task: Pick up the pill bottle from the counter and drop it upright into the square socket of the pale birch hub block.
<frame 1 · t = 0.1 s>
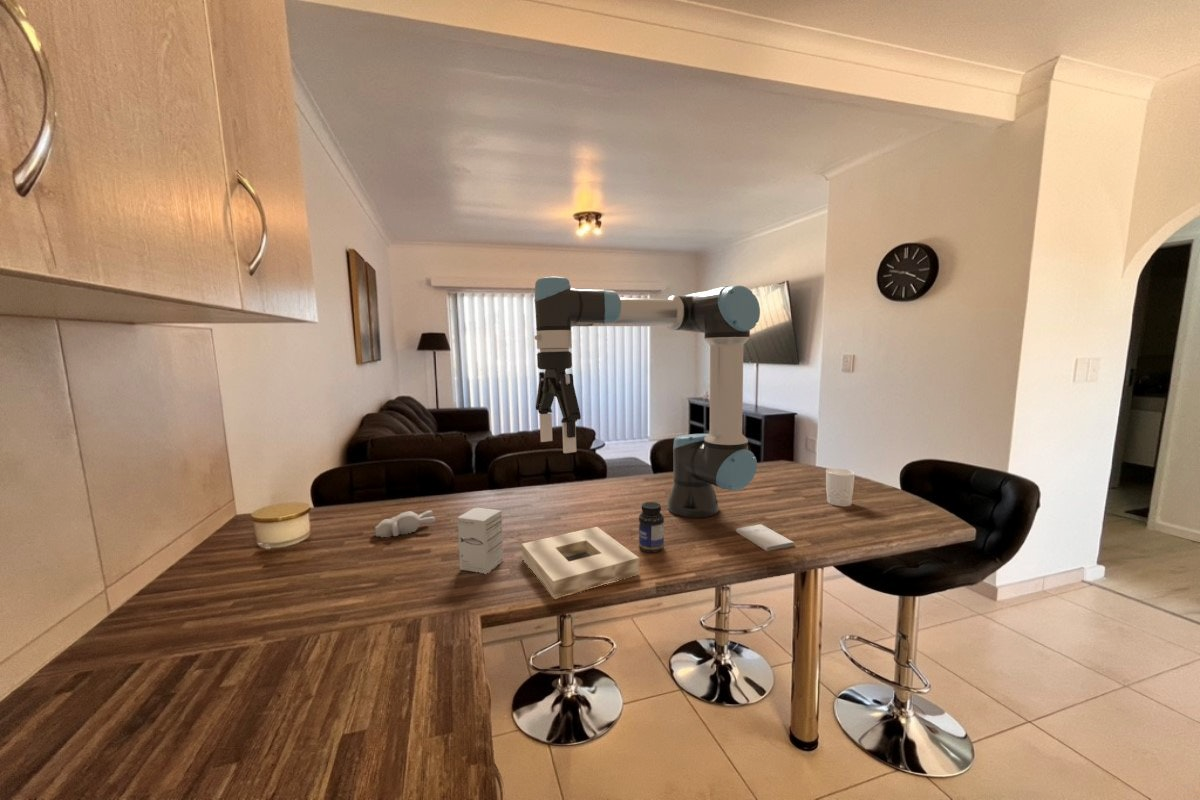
hand: (557, 446, 101), 28 cm above the breakfast bar, tool pointing down, fingers open, 13 cm apart
supplement box: (482, 566, 105), on the breakfast bar
white cup: (838, 503, 141), on the breakfast bar
external hard drive: (764, 541, 116), on the breakfast bar
pill bottle: (651, 548, 112), on the breakfast bar
bunny figurine: (406, 532, 126), on the breakfast bar
socket block: (578, 567, 103), on the breakfast bar
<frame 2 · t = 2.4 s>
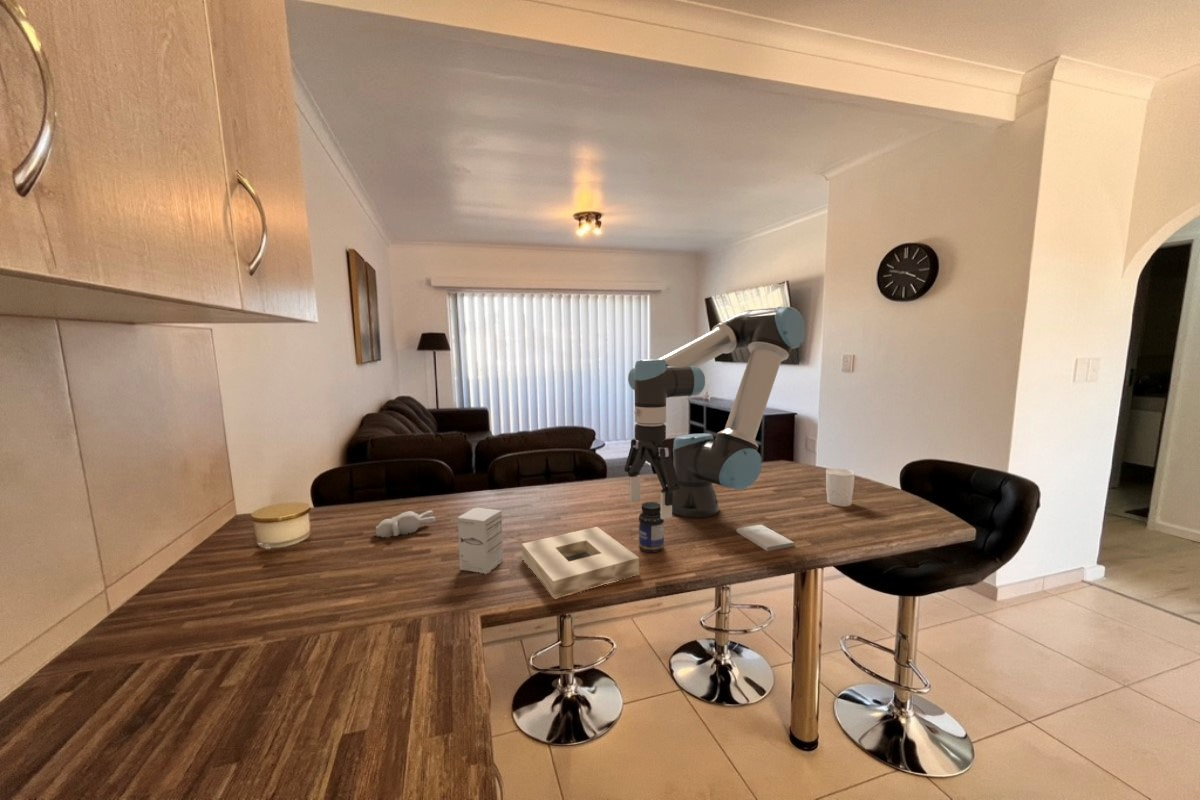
hand: (649, 509, 111), 10 cm above the breakfast bar, tool pointing down, fingers open, 13 cm apart
nothing on the breakfast bar moved.
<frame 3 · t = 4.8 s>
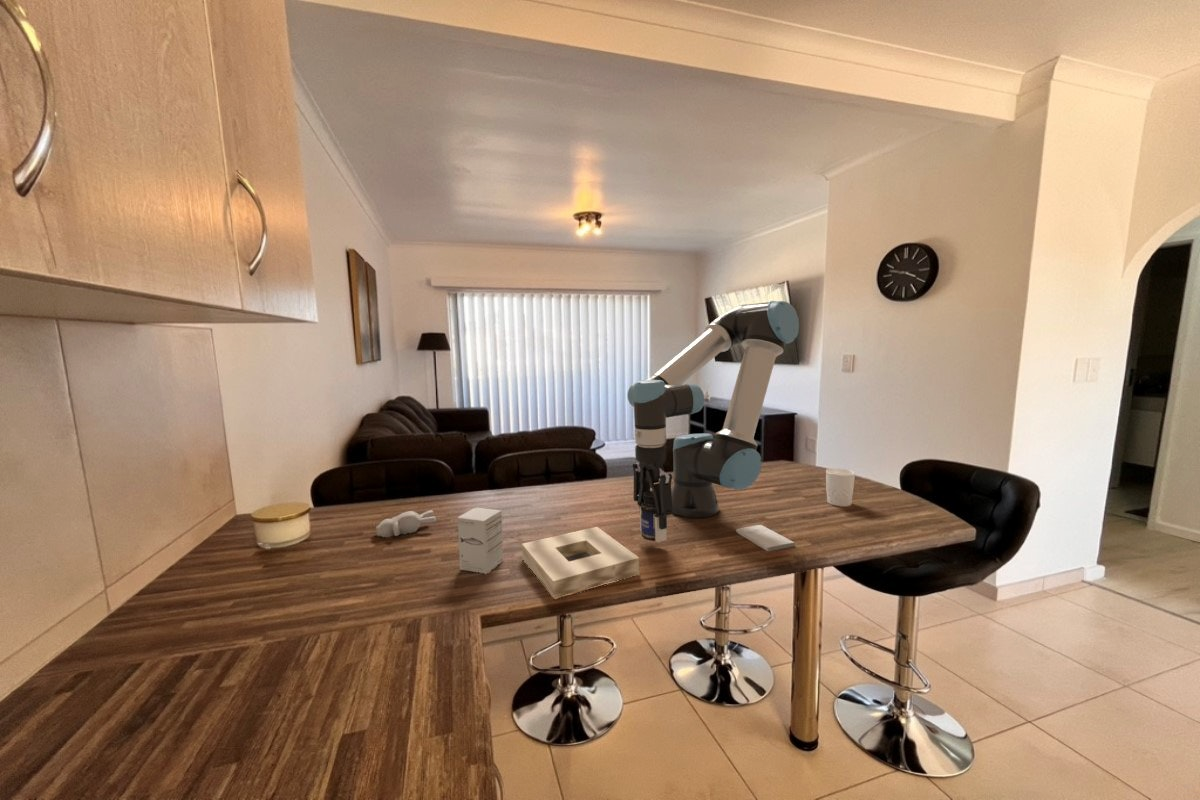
hand: (653, 535, 112), 3 cm above the breakfast bar, tool pointing down, fingers closed on pill bottle, 6 cm apart
pill bottle: (653, 537, 112), point 3 cm above the breakfast bar, touching gripper
everything else where it was.
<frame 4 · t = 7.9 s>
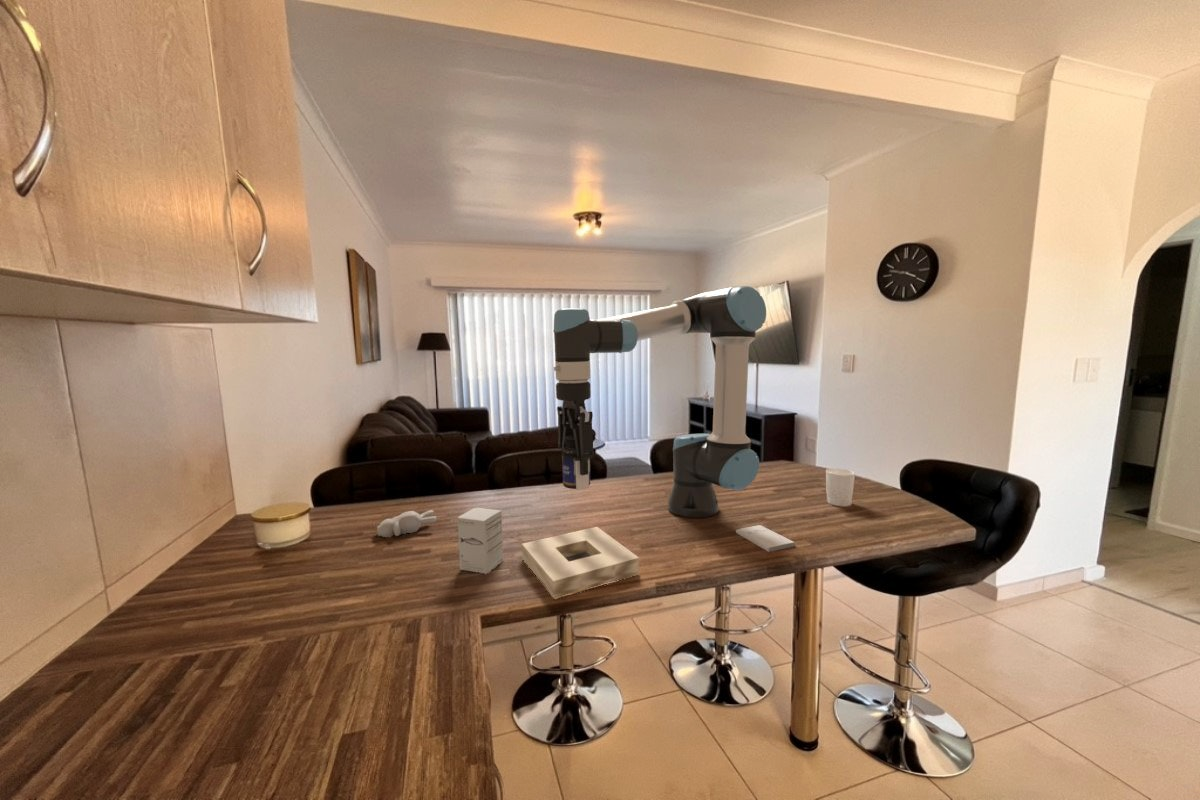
hand: (576, 484, 101), 19 cm above the breakfast bar, tool pointing down, fingers closed on pill bottle, 6 cm apart
pill bottle: (577, 486, 101), point 19 cm above the breakfast bar, touching gripper
everything else where it was.
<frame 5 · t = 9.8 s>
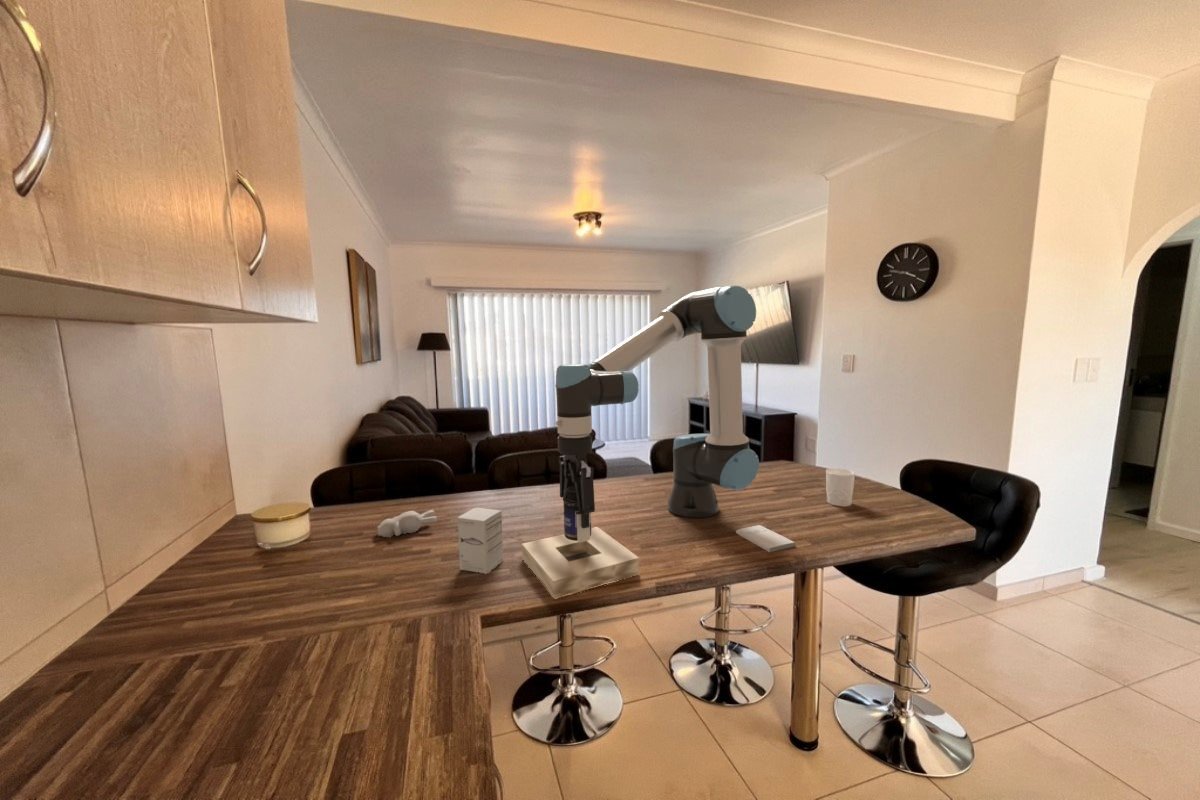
hand: (577, 534, 102), 8 cm above the breakfast bar, tool pointing down, fingers closed on pill bottle, 6 cm apart
pill bottle: (578, 536, 102), point 7 cm above the breakfast bar, touching gripper
everything else where it was.
when the fingers open (6 cm above the breakfast bar, at t = 11.4 s): pill bottle drops 4 cm, resting on socket block.
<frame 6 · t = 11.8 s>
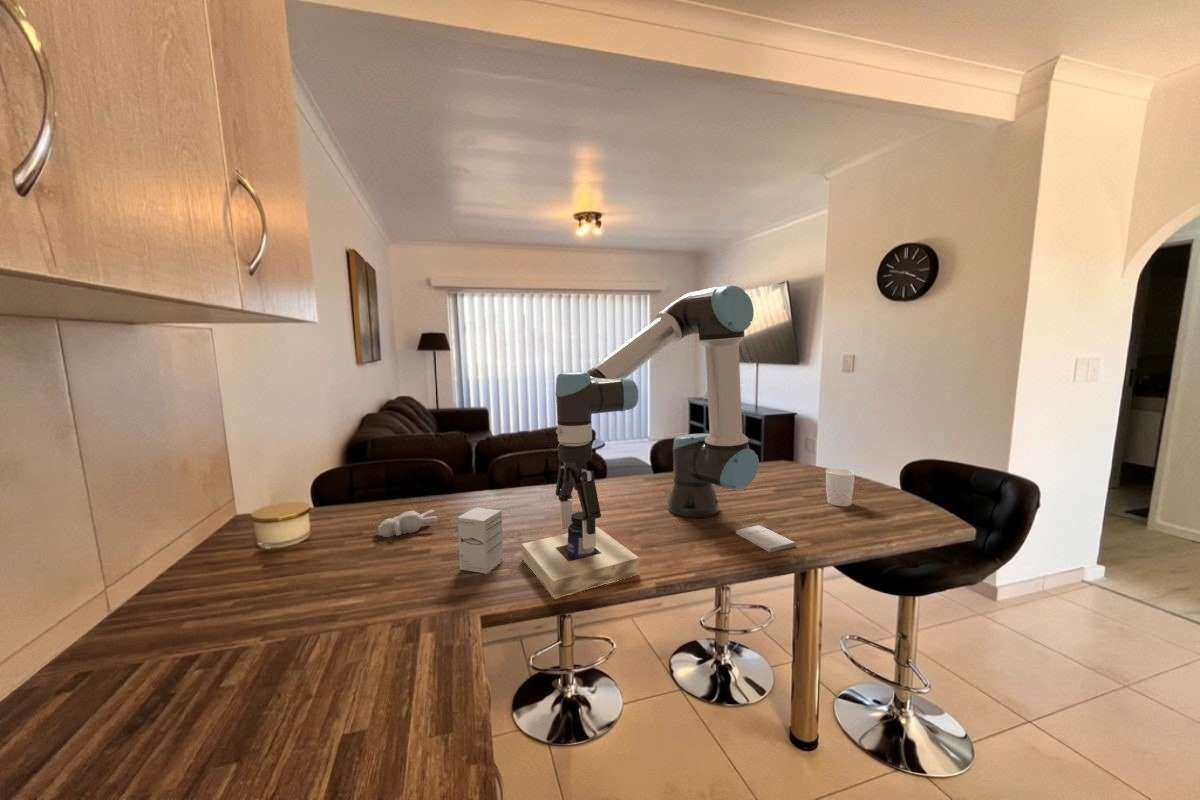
hand: (577, 536, 102), 7 cm above the breakfast bar, tool pointing down, fingers open, 11 cm apart
pill bottle: (580, 562, 103), point 1 cm above the breakfast bar, touching socket block
everything else where it was.
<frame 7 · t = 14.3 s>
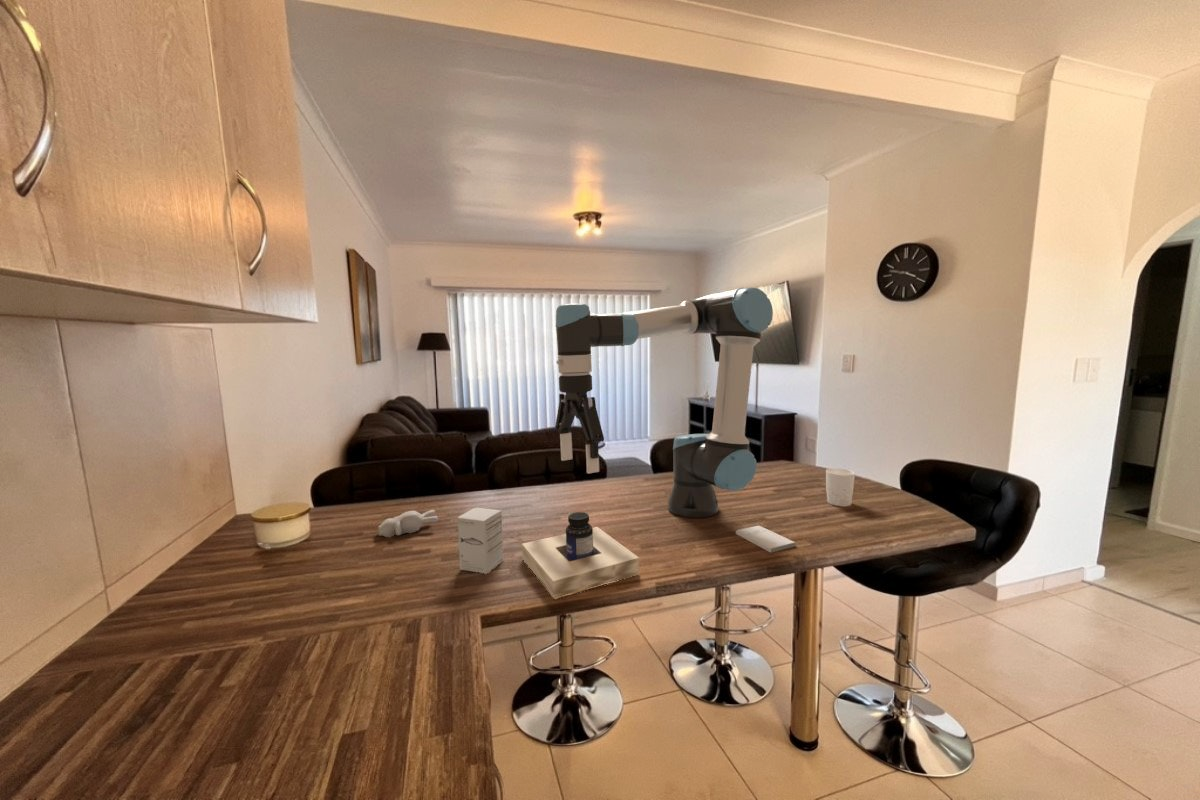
hand: (579, 465, 105), 23 cm above the breakfast bar, tool pointing down, fingers open, 13 cm apart
nothing on the breakfast bar moved.
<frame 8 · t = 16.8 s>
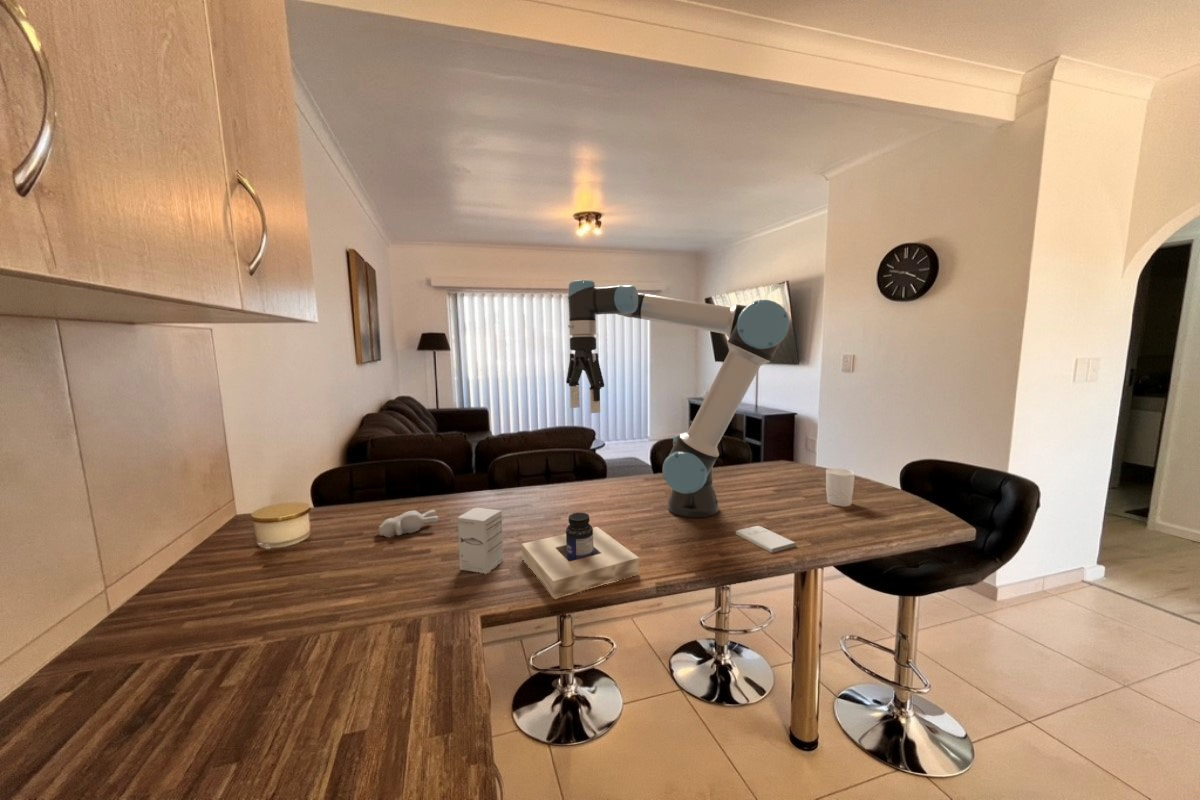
hand: (584, 410, 132), 32 cm above the breakfast bar, tool pointing down, fingers open, 13 cm apart
nothing on the breakfast bar moved.
at the end: pill bottle 0.6 cm off-centre on the socket block, point 0.9 cm above the socket block's base; pill bottle tilted 1°; the gripper is holding nothing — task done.
